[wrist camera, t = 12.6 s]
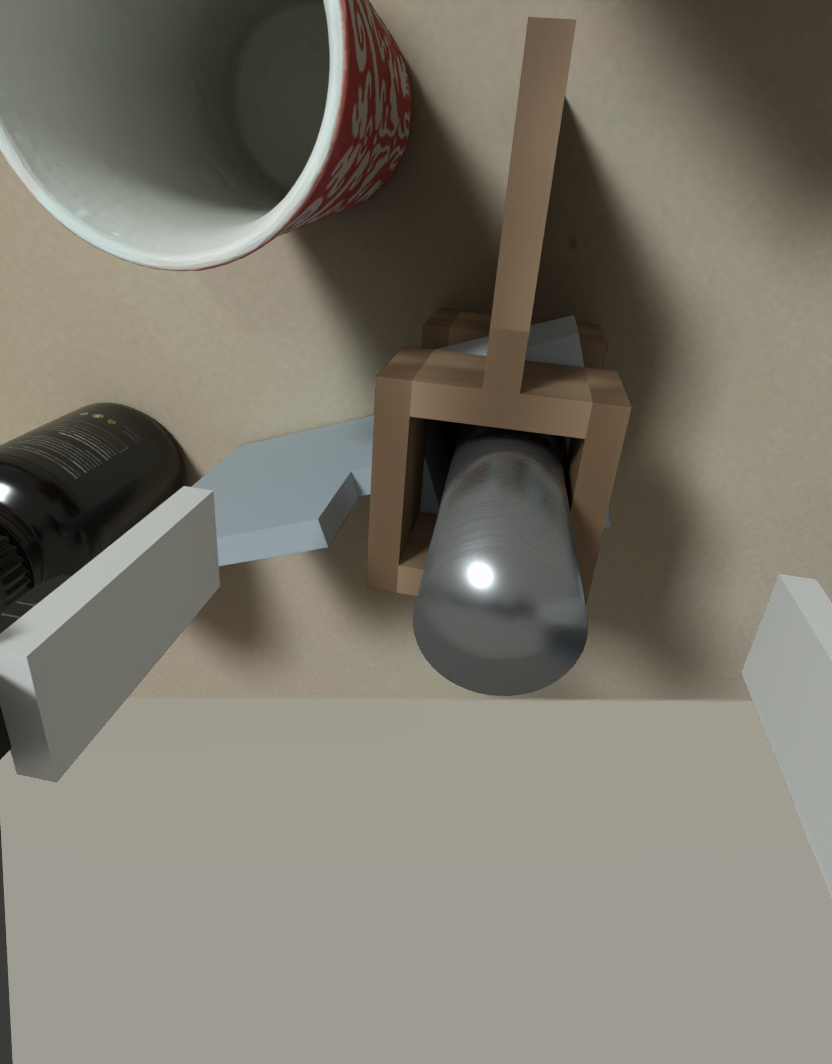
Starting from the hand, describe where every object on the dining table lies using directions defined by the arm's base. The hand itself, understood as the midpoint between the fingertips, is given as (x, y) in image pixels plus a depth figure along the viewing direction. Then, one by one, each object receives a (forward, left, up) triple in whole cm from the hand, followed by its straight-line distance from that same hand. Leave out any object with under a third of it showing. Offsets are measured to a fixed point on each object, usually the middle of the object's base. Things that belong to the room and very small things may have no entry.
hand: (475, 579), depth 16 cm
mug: (+9, -12, -16) cm, 22 cm away
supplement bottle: (+19, +6, -16) cm, 26 cm away
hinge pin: (0, 0, -16) cm, 16 cm away
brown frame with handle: (0, -4, -16) cm, 17 cm away
